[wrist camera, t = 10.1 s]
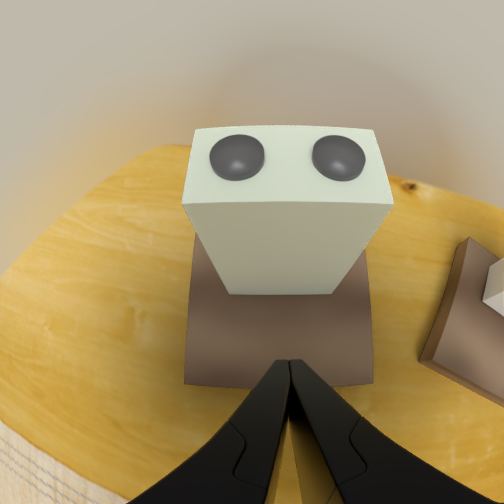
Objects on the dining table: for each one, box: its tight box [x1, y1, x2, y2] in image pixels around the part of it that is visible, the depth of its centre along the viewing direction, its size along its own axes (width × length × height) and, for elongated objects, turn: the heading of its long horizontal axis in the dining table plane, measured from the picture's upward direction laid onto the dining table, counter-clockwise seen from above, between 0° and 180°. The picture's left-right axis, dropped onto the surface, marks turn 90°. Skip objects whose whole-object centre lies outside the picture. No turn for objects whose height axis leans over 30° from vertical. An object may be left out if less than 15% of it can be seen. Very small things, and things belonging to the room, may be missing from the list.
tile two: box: [182, 125, 394, 295], centre depth 13 cm, size 3×6×10 cm, turn 89°
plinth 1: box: [184, 233, 373, 389], centre depth 18 cm, size 10×11×2 cm
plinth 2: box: [418, 237, 504, 407], centre depth 16 cm, size 10×11×2 cm
